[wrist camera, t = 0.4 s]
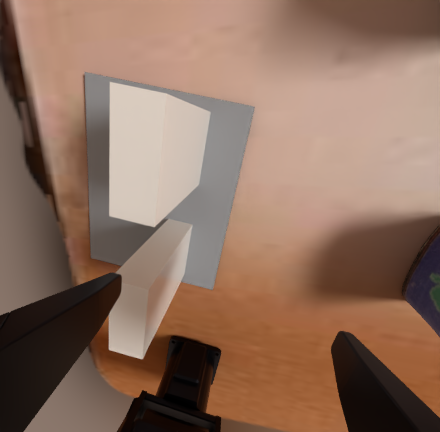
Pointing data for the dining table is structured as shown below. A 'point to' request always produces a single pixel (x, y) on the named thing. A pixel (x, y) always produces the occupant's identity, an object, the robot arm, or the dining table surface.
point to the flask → (426, 282)
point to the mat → (191, 205)
